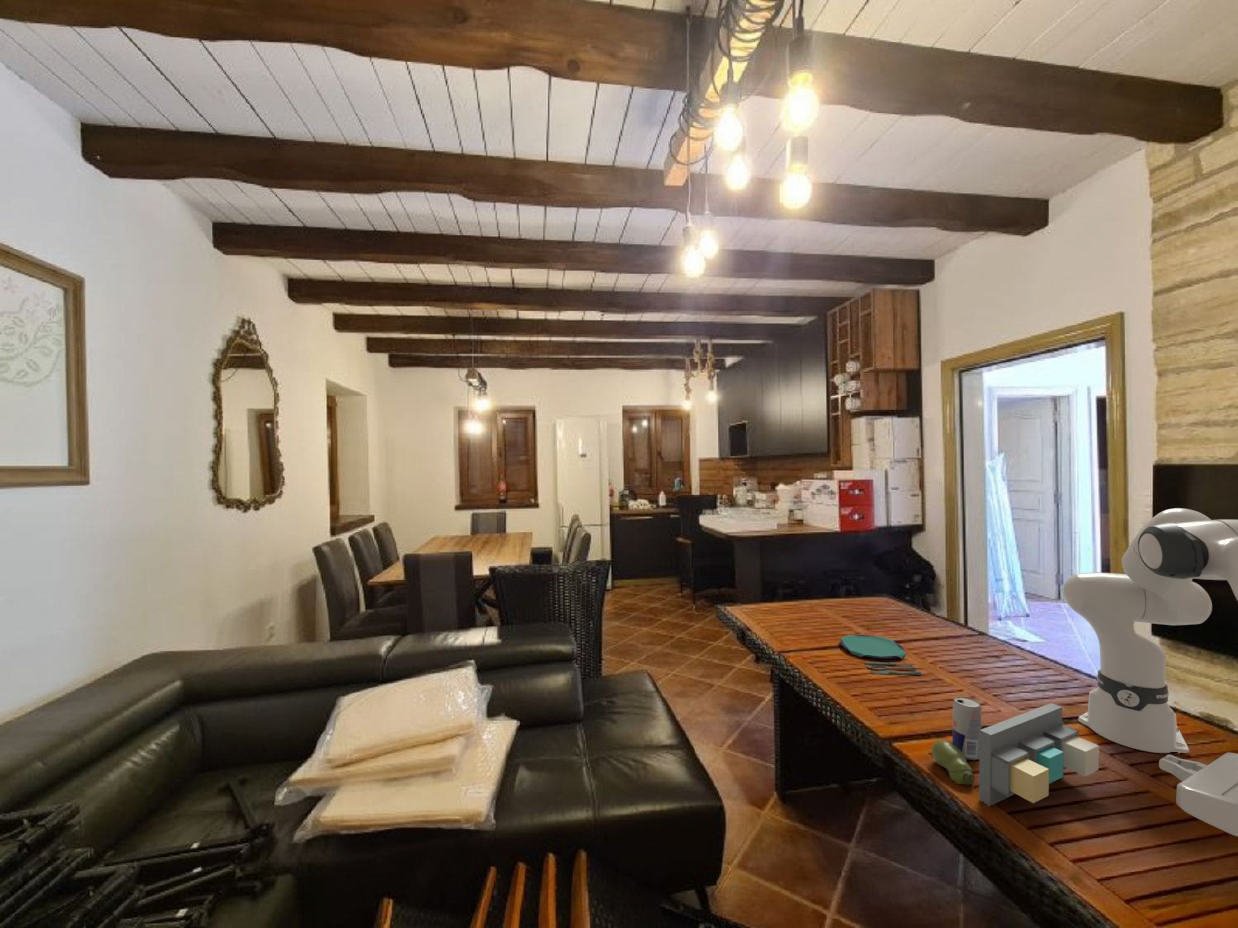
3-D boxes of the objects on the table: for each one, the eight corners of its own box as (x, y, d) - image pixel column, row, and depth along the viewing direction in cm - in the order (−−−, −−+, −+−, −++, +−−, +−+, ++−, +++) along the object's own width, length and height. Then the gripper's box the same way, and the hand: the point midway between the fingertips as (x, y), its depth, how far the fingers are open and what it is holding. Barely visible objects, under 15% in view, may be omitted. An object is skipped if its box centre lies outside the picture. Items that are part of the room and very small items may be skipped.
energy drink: (953, 744, 121) (954, 693, 120) (981, 752, 117) (982, 700, 117) (950, 754, 116) (951, 702, 116) (979, 763, 113) (980, 709, 113)
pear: (952, 735, 114) (984, 769, 105) (949, 755, 116) (980, 792, 106) (927, 734, 114) (956, 769, 105) (924, 755, 116) (953, 792, 106)
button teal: (1036, 764, 105) (1037, 740, 105) (1063, 776, 101) (1063, 751, 101) (1022, 770, 103) (1022, 746, 103) (1049, 783, 99) (1049, 758, 99)
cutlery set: (891, 640, 186) (891, 634, 186) (929, 678, 156) (929, 671, 156) (833, 639, 189) (833, 632, 189) (860, 675, 159) (860, 668, 159)
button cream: (1071, 757, 108) (1071, 734, 107) (1098, 769, 103) (1098, 745, 103) (1058, 763, 105) (1058, 739, 105) (1085, 776, 101) (1085, 751, 101)
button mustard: (1021, 781, 100) (1021, 756, 100) (1048, 795, 96) (1048, 768, 96) (1006, 788, 98) (1006, 762, 98) (1033, 803, 94) (1033, 776, 94)
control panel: (1050, 766, 112) (1051, 702, 112) (1078, 779, 107) (1079, 713, 107) (979, 799, 101) (979, 729, 101) (1007, 816, 97) (1008, 742, 96)
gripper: (1319, 772, 79) (1190, 727, 91) (1268, 815, 70) (1134, 758, 83) (1317, 812, 79) (1189, 761, 92) (1266, 859, 71) (1133, 796, 83)
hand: (1162, 760), depth 87 cm, fingers closed
